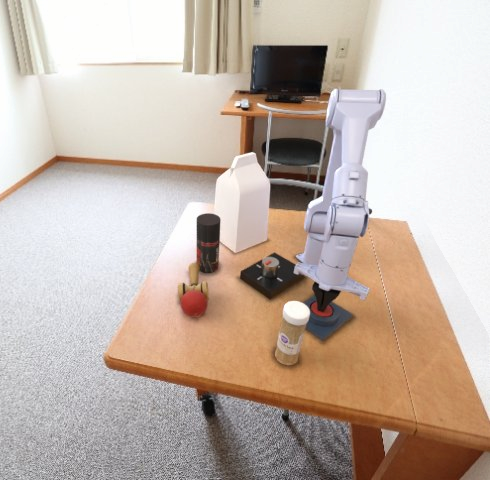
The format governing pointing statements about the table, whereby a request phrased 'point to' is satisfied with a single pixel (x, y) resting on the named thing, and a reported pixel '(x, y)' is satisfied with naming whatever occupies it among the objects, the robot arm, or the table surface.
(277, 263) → the dial
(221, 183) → the milk
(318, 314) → the push knob
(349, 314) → the button base
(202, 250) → the deodorant
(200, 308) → the kendama
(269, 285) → the hob panel
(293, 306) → the sprinkles bottle
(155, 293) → the table surface
